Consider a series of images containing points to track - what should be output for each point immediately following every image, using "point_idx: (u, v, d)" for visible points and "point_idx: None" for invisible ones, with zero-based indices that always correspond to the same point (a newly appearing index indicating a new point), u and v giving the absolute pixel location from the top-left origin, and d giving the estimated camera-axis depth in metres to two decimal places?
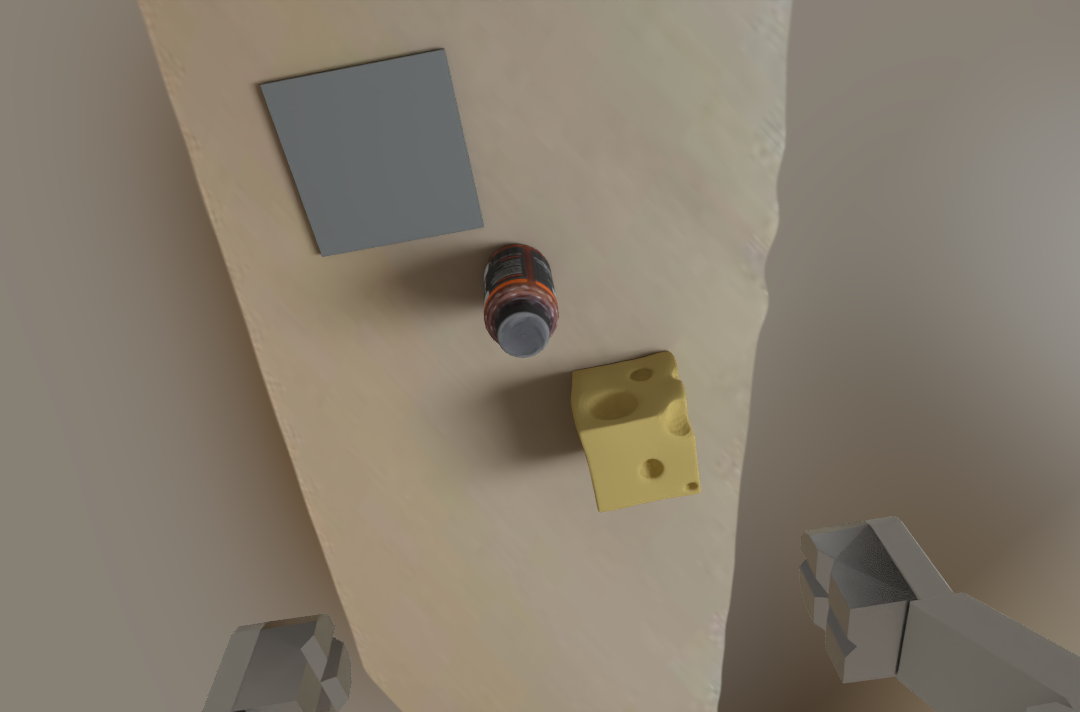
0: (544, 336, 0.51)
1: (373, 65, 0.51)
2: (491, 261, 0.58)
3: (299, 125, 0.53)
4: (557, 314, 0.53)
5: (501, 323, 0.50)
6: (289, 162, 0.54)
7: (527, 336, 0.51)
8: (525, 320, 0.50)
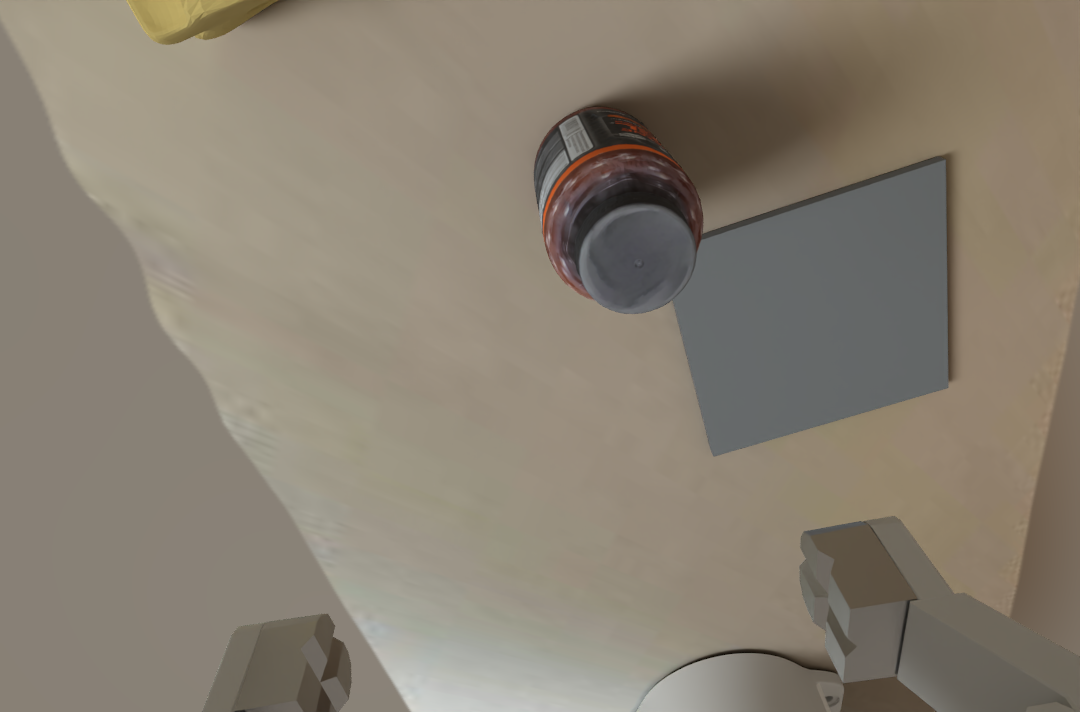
0: (590, 266, 0.23)
1: (801, 428, 0.40)
2: None
3: (914, 351, 0.38)
4: (550, 255, 0.25)
5: (687, 281, 0.23)
6: (945, 303, 0.37)
7: (629, 261, 0.23)
8: (636, 298, 0.23)
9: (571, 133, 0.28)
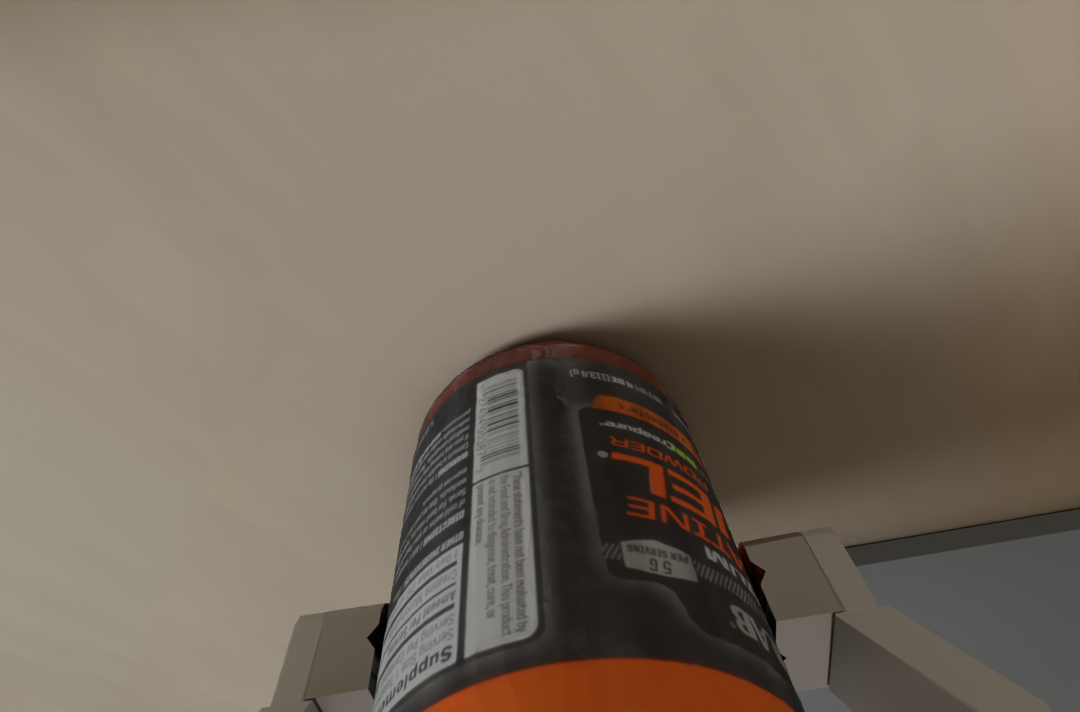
0: None
1: None
2: None
3: None
4: None
5: None
6: None
7: None
8: None
9: (494, 459, 0.11)
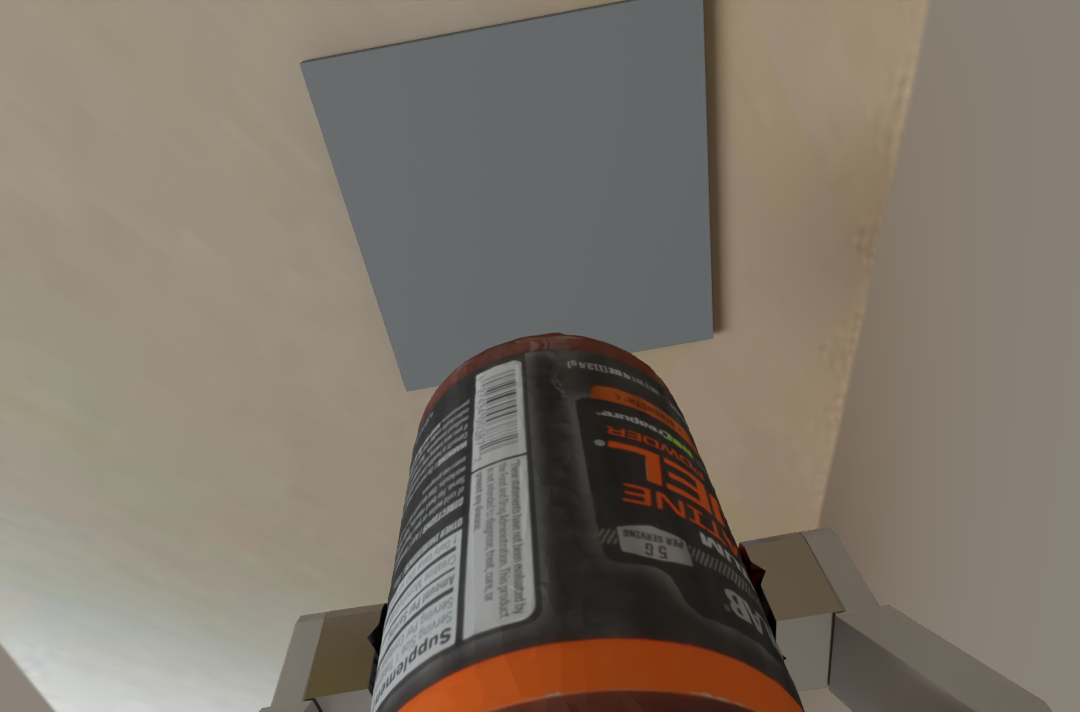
0: None
1: None
2: None
3: (668, 278, 0.29)
4: None
5: None
6: (706, 215, 0.27)
7: None
8: None
9: (493, 448, 0.11)
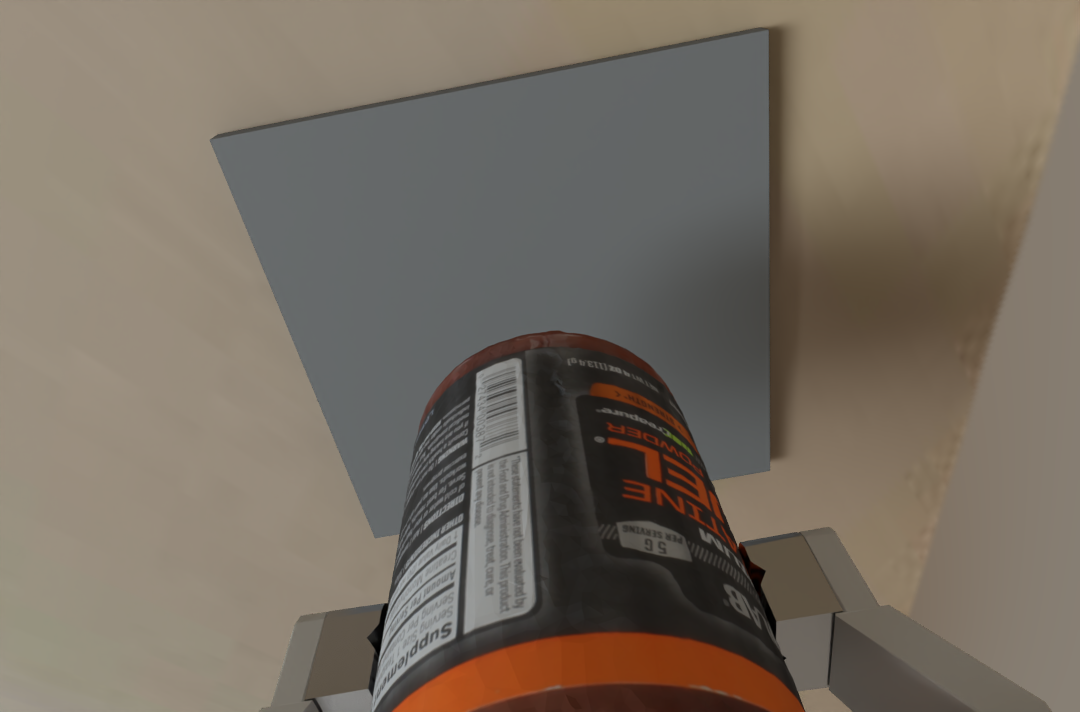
0: None
1: None
2: None
3: (713, 401, 0.22)
4: None
5: None
6: (765, 323, 0.21)
7: None
8: None
9: (493, 444, 0.11)
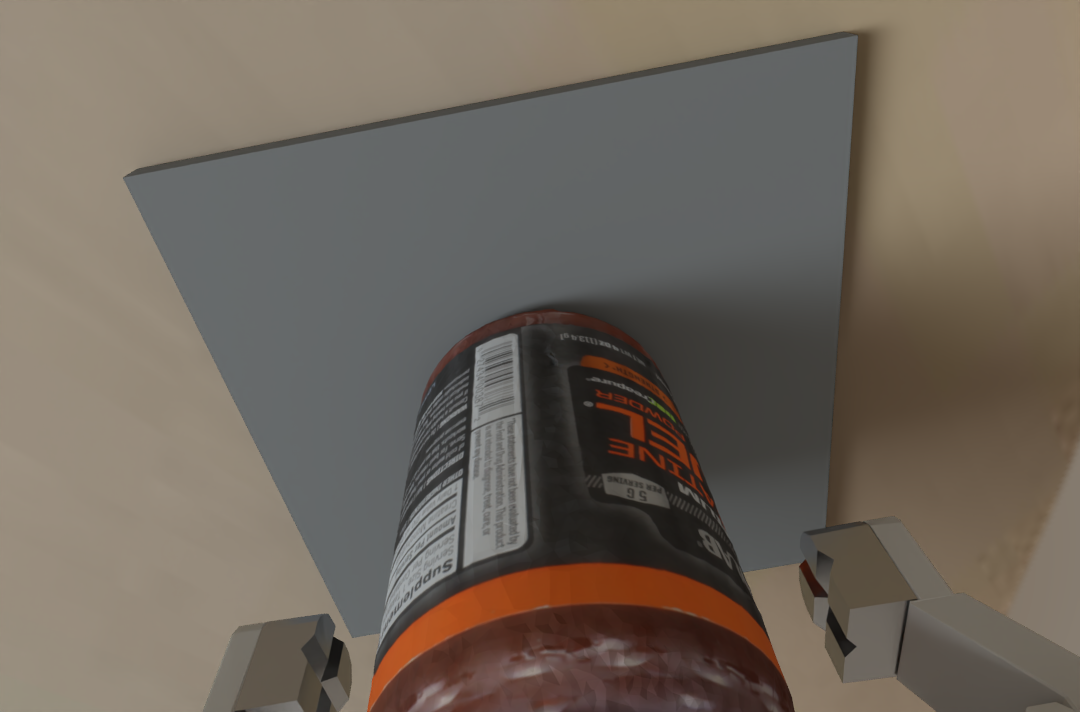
0: None
1: None
2: None
3: (760, 484, 0.18)
4: None
5: None
6: (829, 395, 0.17)
7: None
8: None
9: (491, 409, 0.12)
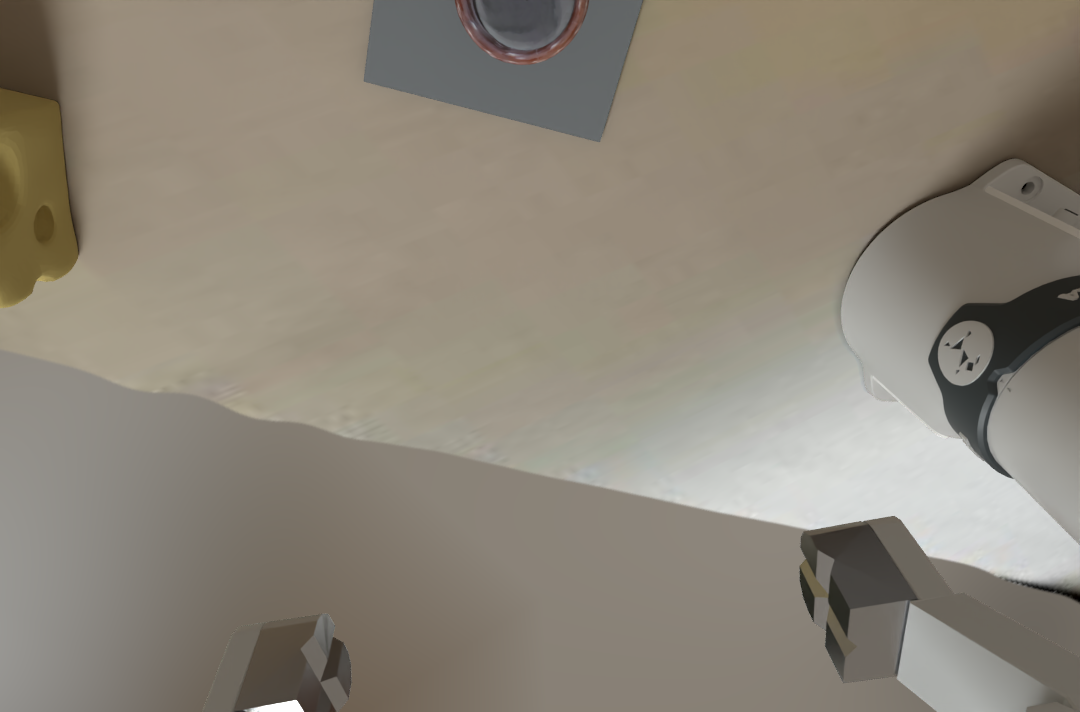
0: (506, 35, 0.27)
1: (625, 47, 0.38)
2: None
3: None
4: (503, 60, 0.30)
5: None
6: None
7: (520, 2, 0.27)
8: (553, 15, 0.27)
9: None
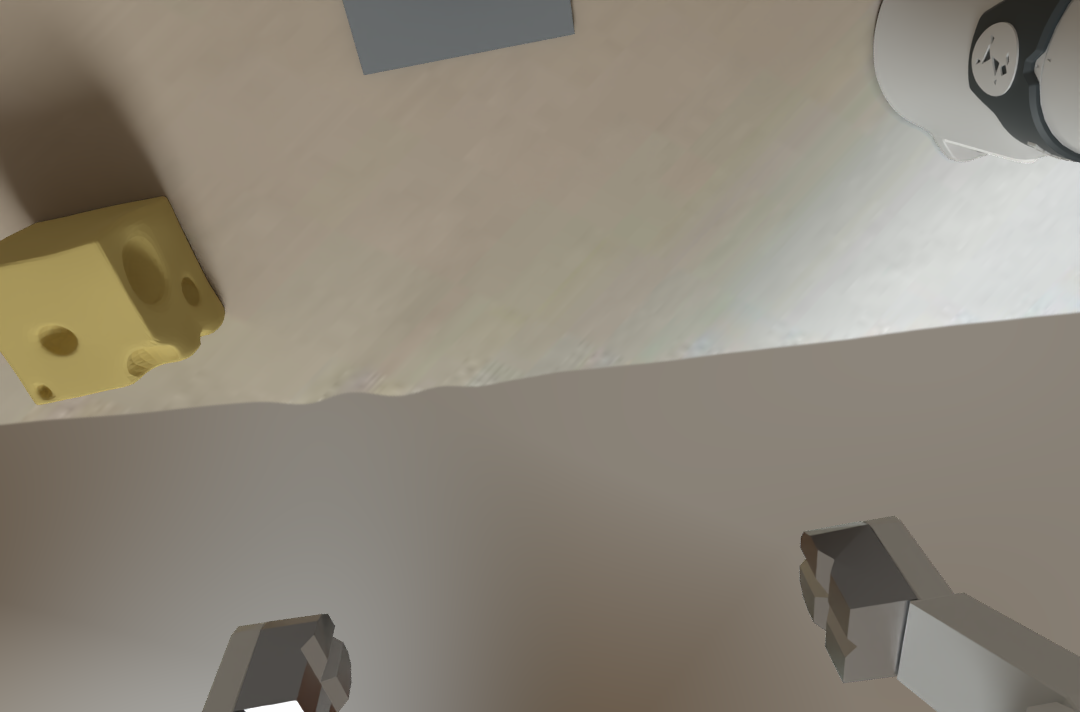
0: None
1: None
2: None
3: None
4: None
5: None
6: None
7: None
8: None
9: None
